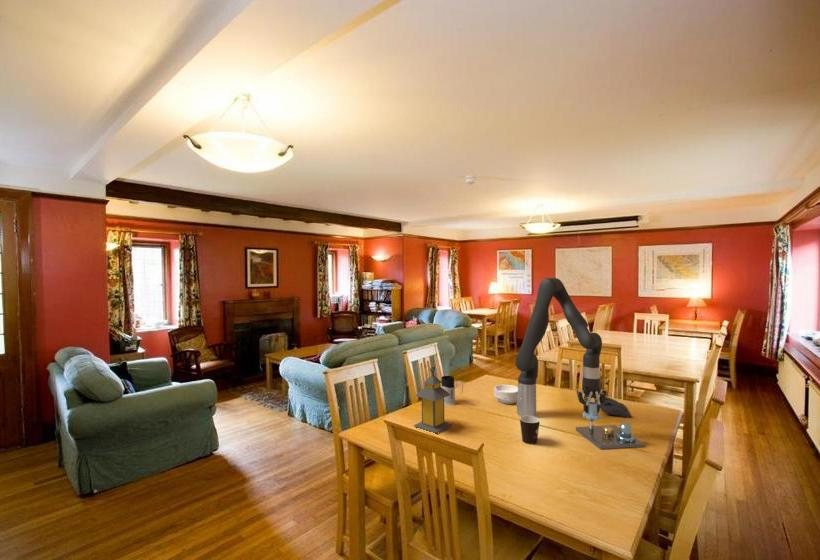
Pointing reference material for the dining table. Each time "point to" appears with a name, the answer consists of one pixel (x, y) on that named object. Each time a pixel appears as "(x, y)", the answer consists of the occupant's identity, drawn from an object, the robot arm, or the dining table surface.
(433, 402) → the lantern
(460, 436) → the dining table surface
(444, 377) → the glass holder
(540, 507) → the dining table surface
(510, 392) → the paper bowls
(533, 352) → the robot arm
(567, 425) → the dining table surface
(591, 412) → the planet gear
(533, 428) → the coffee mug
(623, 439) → the gear carrier
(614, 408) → the dark slate chunk
